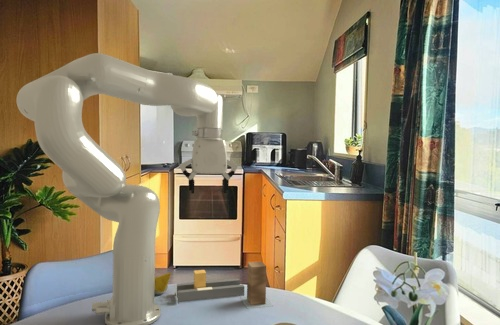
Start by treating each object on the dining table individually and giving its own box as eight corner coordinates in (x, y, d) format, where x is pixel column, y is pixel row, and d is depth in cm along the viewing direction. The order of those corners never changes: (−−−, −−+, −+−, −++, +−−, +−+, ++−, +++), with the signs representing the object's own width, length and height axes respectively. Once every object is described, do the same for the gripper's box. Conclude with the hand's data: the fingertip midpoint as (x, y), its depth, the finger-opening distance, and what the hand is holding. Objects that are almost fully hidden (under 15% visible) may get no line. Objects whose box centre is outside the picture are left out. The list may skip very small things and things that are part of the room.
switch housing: (178, 303, 87) (178, 292, 87) (176, 294, 93) (176, 283, 93) (244, 297, 92) (244, 285, 92) (238, 288, 98) (238, 278, 98)
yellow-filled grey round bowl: (163, 289, 98) (181, 270, 94) (156, 303, 93) (176, 285, 89) (148, 279, 97) (166, 260, 93) (140, 293, 92) (159, 274, 88)
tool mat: (247, 310, 84) (247, 308, 84) (240, 299, 91) (240, 297, 91) (273, 307, 86) (273, 305, 86) (264, 296, 93) (264, 295, 93)
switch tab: (194, 292, 90) (195, 273, 90) (193, 289, 93) (193, 270, 93) (205, 291, 91) (205, 272, 91) (204, 288, 94) (204, 269, 94)
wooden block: (250, 305, 86) (251, 267, 86) (246, 299, 90) (247, 262, 90) (265, 304, 87) (266, 266, 87) (260, 297, 91) (261, 261, 91)
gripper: (181, 133, 92) (180, 194, 92) (241, 135, 97) (239, 193, 97) (178, 135, 99) (177, 192, 99) (234, 137, 104) (233, 191, 104)
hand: (208, 192), depth 98 cm, fingers open, 9 cm apart
